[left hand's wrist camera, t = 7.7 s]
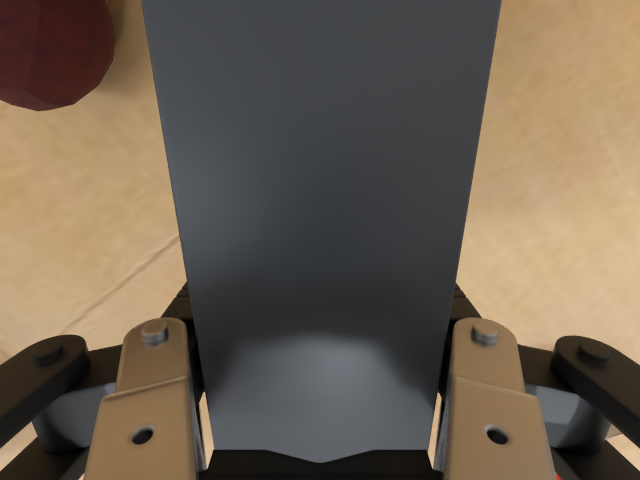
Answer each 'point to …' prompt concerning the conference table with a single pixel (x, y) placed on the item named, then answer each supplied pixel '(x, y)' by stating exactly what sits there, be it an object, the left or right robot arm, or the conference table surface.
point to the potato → (53, 51)
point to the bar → (321, 207)
